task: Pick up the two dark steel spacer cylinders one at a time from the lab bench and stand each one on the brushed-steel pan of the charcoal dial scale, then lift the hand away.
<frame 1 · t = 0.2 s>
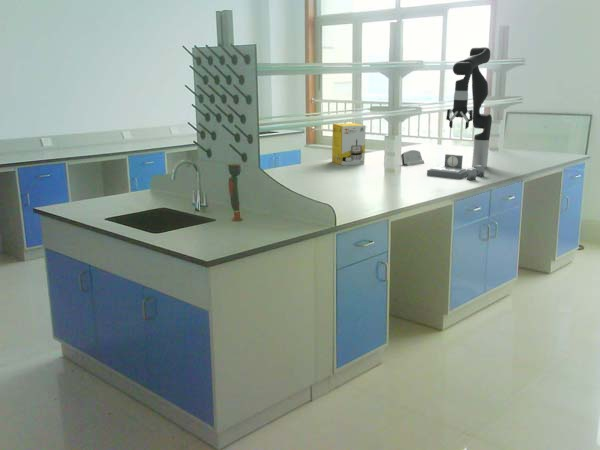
hand: (458, 128, 340), 28 cm above the worktop, fingers open, 8 cm apart
spacer b: (479, 176, 352), on the worktop
scale: (448, 175, 355), on the worktop
packaging box: (347, 163, 397), on the worktop
spacer a: (471, 179, 341), on the worktop
grey rounded panel: (411, 164, 394), on the worktop
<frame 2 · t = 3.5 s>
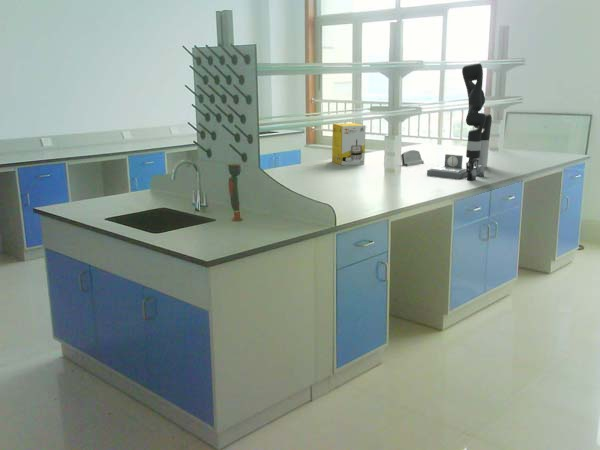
hand: (471, 178, 341), 0 cm above the worktop, fingers closed on spacer a, 5 cm apart
spacer a: (471, 179, 341), on the worktop, touching gripper
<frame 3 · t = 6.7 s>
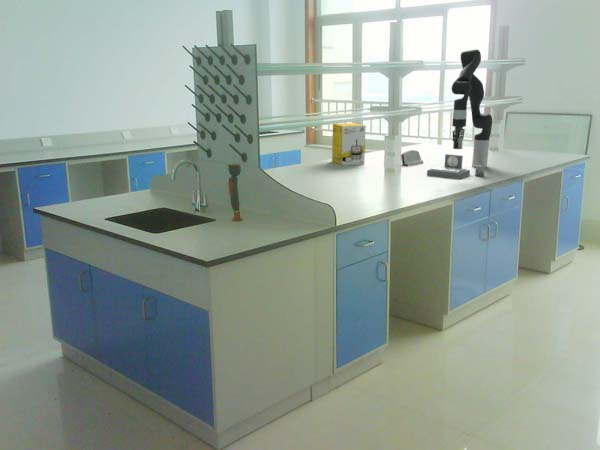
hand: (457, 147, 344), 17 cm above the worktop, fingers closed on spacer a, 5 cm apart
spacer a: (457, 148, 344), point 17 cm above the worktop, touching gripper
when the fingers open (6 cm above the worktop, at t = 10.0 s): spacer a drops 1 cm, resting on scale.
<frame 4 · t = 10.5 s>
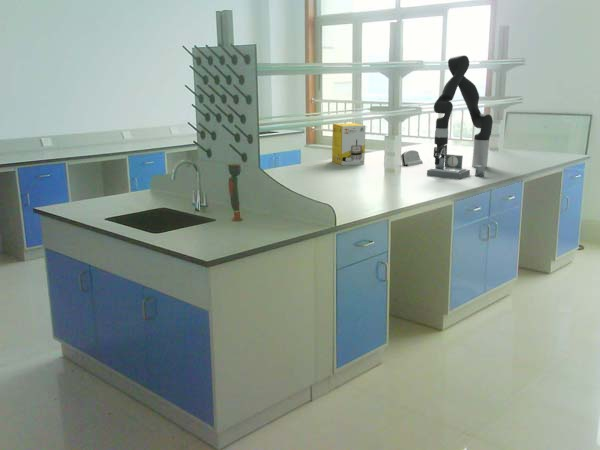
hand: (439, 163, 354), 7 cm above the worktop, fingers open, 8 cm apart
spacer a: (439, 167, 355), point 4 cm above the worktop, touching scale
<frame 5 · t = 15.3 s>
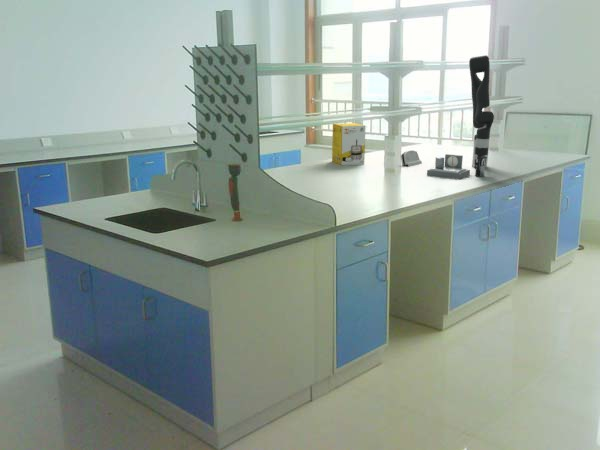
hand: (479, 175, 352), 0 cm above the worktop, fingers closed on spacer b, 5 cm apart
spacer b: (479, 175, 352), on the worktop, touching gripper
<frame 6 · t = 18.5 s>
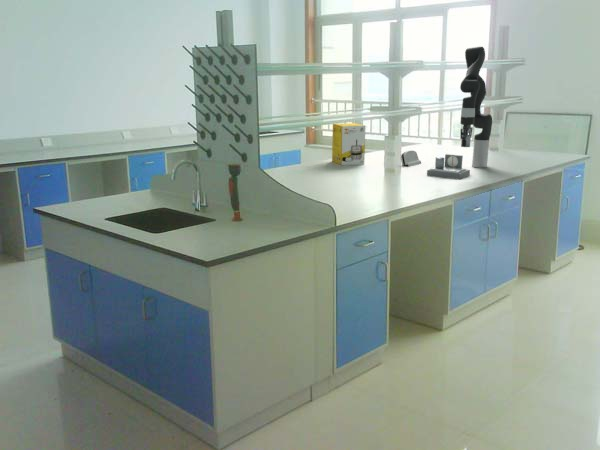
hand: (465, 145, 346), 18 cm above the worktop, fingers closed on spacer b, 5 cm apart
spacer b: (465, 146, 346), point 17 cm above the worktop, touching gripper
when the fingers open (6 cm above the worktop, at t = 21.5 s): spacer b drops 1 cm, resting on scale.
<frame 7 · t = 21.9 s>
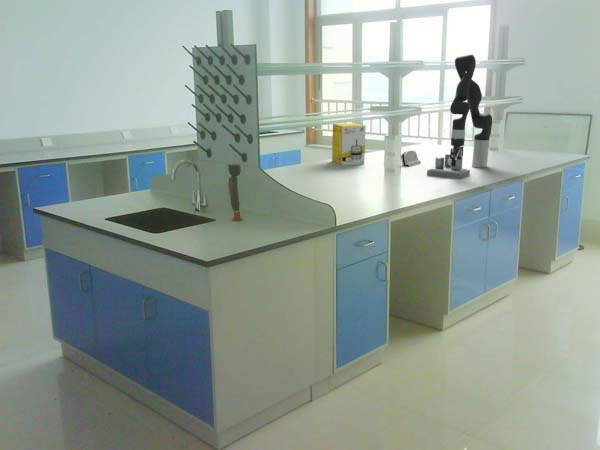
hand: (455, 165, 349), 7 cm above the worktop, fingers open, 8 cm apart
spacer b: (455, 169, 349), point 4 cm above the worktop, touching scale
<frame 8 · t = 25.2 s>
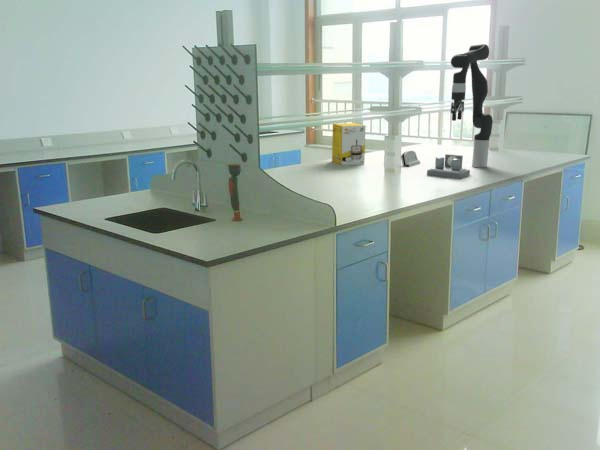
hand: (456, 120, 347), 32 cm above the worktop, fingers open, 8 cm apart
at the end: spacer a inside the target area on the scale (5.0 cm from its centre), point 4.0 cm above the scale's base; spacer b inside the target area on the scale (5.0 cm from its centre), point 4.0 cm above the scale's base; the gripper is holding nothing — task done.
